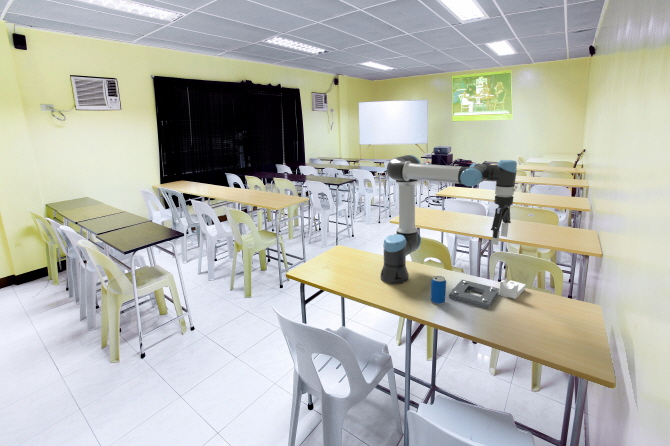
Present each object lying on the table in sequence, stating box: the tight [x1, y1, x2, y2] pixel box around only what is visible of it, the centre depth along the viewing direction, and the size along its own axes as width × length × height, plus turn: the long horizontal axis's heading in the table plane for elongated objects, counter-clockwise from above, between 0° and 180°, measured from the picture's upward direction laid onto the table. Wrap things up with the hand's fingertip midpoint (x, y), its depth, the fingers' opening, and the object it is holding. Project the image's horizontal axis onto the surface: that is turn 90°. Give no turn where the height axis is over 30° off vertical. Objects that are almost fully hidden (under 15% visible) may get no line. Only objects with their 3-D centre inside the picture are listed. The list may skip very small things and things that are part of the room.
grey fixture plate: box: [448, 279, 500, 310], centre depth 164 cm, size 18×18×3 cm
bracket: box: [498, 279, 527, 300], centre depth 164 cm, size 13×7×8 cm, turn 133°
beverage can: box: [430, 275, 447, 305], centre depth 159 cm, size 6×6×12 cm
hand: (499, 240), depth 158 cm, fingers open, 13 cm apart
